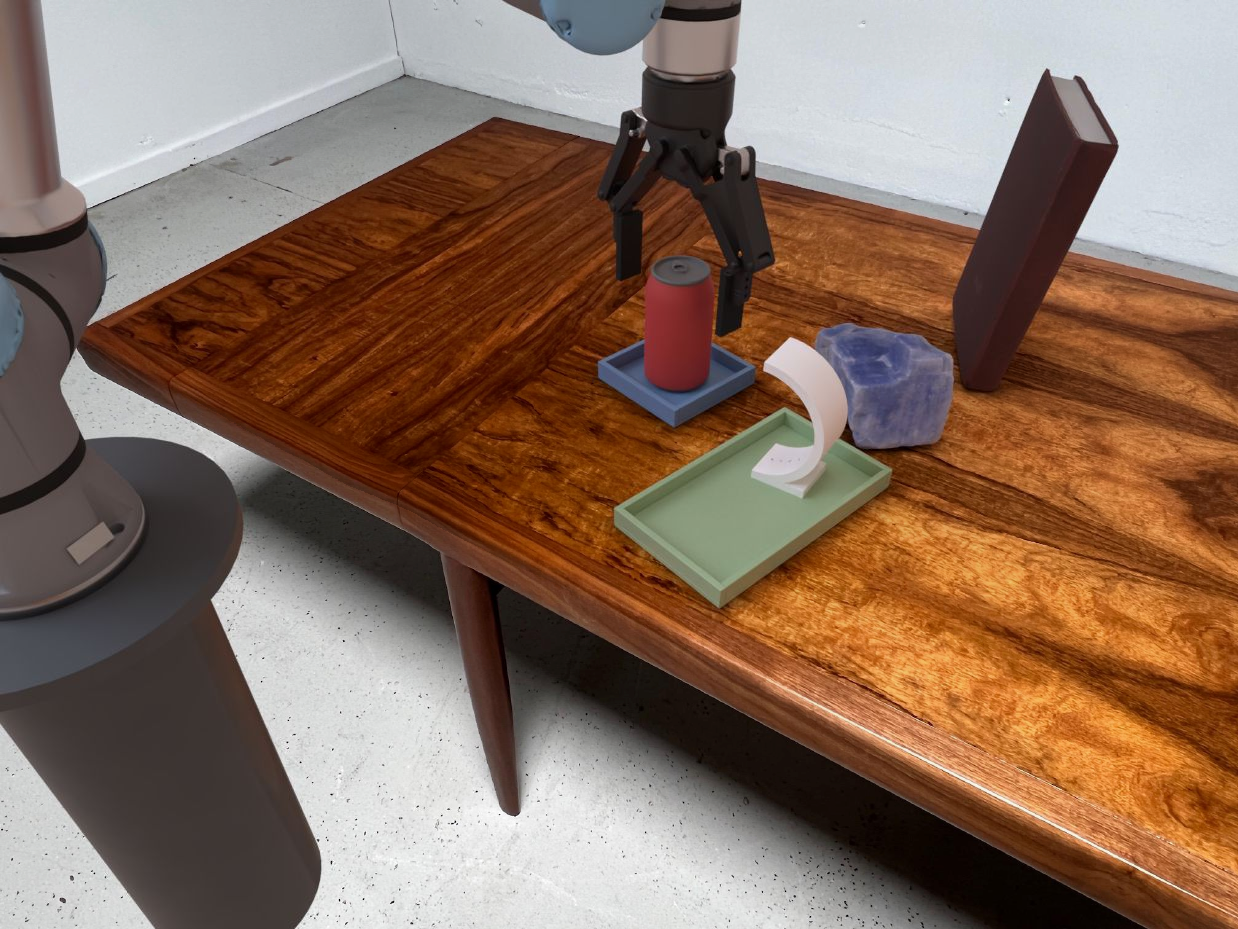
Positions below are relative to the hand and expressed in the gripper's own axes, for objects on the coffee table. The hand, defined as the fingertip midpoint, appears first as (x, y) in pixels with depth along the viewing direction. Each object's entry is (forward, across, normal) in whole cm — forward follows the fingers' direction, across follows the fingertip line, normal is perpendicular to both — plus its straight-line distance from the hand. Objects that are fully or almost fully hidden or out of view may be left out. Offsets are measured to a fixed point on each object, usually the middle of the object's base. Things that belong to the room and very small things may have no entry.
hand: (676, 302), depth 86 cm
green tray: (+9, -18, +8) cm, 22 cm away
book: (+9, -18, -28) cm, 35 cm away
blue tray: (+9, 0, 0) cm, 9 cm away
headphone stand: (+9, -18, +3) cm, 20 cm away
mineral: (+9, -16, -11) cm, 22 cm away
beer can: (+9, 0, 0) cm, 9 cm away
